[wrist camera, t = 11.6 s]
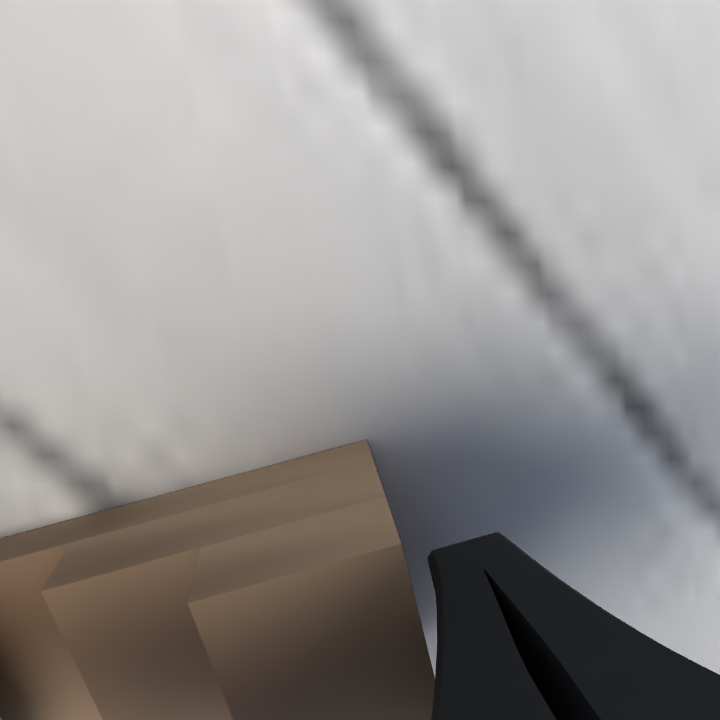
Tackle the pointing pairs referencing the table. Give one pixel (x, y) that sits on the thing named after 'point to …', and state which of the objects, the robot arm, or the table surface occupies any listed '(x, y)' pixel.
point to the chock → (219, 604)
